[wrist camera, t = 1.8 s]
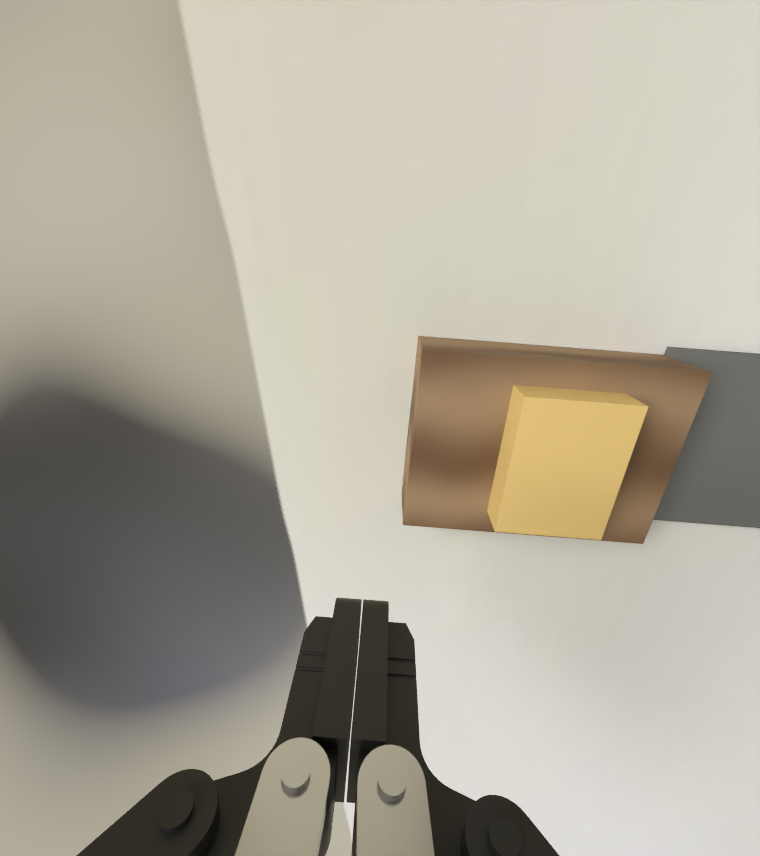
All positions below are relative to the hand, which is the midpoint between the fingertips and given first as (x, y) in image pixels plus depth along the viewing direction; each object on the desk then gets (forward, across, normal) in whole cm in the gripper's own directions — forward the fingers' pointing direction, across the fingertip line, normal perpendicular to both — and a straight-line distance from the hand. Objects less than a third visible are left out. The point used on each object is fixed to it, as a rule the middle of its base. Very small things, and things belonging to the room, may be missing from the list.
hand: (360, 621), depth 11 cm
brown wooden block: (+16, -10, 0) cm, 19 cm away
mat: (+16, -23, 0) cm, 28 cm away
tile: (+12, -10, 0) cm, 16 cm away
